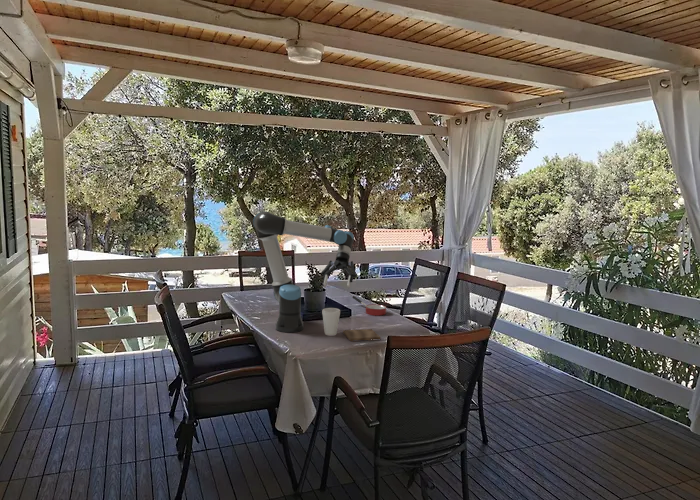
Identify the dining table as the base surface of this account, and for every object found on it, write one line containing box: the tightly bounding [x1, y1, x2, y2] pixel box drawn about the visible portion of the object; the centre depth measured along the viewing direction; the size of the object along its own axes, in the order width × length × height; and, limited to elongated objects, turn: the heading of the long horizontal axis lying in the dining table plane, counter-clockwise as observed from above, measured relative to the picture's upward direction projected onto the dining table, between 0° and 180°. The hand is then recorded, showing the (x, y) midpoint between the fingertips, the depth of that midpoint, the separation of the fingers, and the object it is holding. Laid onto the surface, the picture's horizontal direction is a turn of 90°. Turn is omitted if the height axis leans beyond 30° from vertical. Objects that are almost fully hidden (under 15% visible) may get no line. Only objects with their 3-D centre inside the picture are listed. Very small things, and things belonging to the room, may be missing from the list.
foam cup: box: [321, 307, 341, 337], centre depth 258 cm, size 10×9×13 cm
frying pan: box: [352, 295, 387, 317], centre depth 314 cm, size 32×13×6 cm, turn 40°
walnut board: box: [342, 328, 381, 342], centre depth 256 cm, size 16×15×2 cm
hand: (336, 286), depth 267 cm, fingers open, 13 cm apart
